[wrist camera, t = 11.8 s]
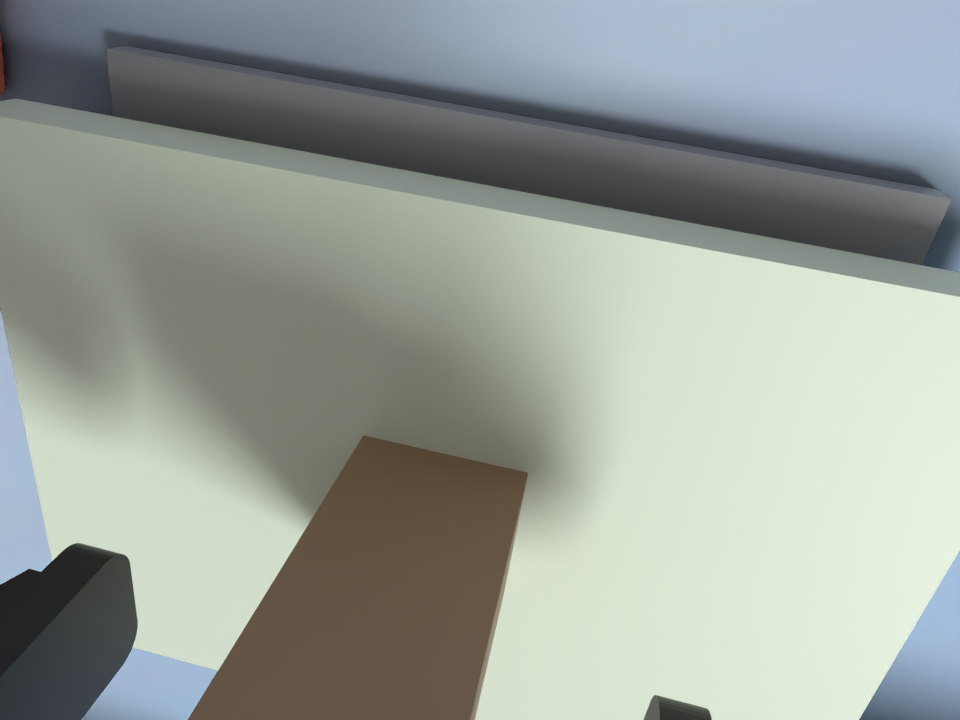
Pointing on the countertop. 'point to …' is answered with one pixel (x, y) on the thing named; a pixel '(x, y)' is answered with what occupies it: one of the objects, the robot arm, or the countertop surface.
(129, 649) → the robot arm
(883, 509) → the lid
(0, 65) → the cracker box
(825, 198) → the plate
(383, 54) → the countertop surface
